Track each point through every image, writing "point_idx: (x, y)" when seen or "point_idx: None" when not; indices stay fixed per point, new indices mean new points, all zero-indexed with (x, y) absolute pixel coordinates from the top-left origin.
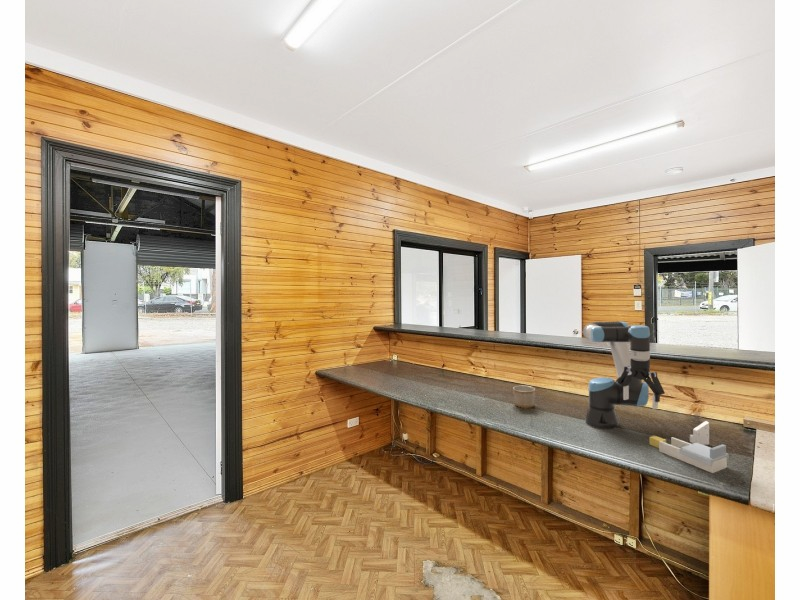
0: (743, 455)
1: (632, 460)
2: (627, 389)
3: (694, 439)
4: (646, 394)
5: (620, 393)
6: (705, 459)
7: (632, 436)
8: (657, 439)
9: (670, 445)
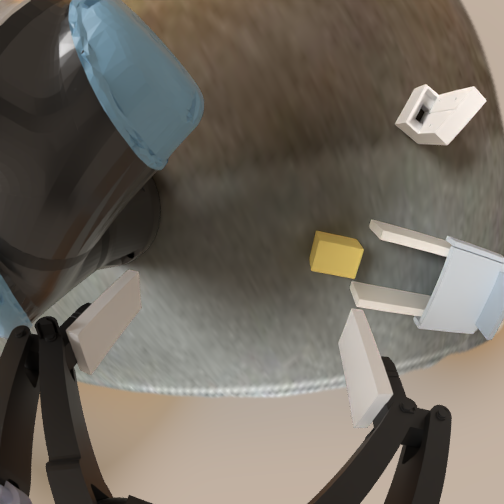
0: (500, 137)
1: (312, 378)
2: (98, 329)
3: (418, 137)
4: (181, 115)
5: (70, 257)
6: (465, 332)
7: (236, 235)
8: (339, 270)
9: (391, 309)
